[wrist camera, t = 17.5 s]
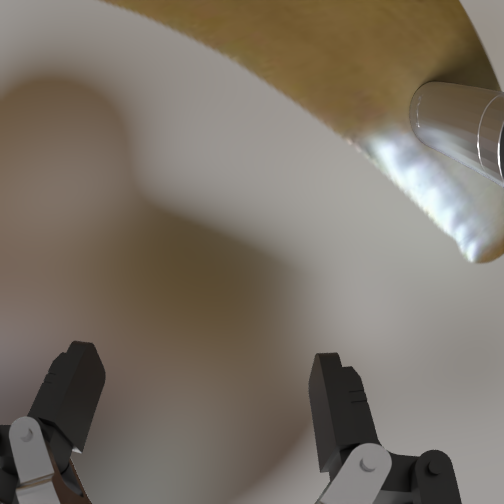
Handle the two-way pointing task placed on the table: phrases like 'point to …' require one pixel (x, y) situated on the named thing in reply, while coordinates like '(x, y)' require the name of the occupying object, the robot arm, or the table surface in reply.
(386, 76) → the table surface
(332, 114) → the table surface
